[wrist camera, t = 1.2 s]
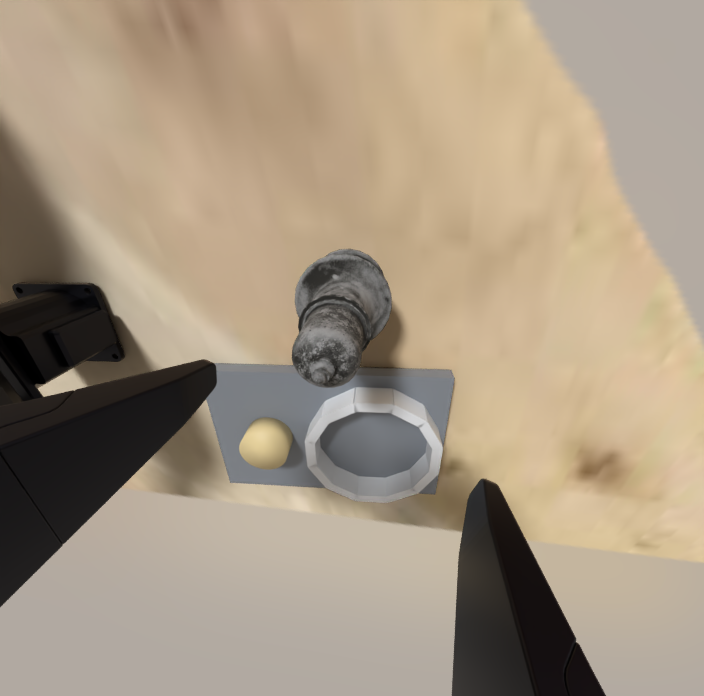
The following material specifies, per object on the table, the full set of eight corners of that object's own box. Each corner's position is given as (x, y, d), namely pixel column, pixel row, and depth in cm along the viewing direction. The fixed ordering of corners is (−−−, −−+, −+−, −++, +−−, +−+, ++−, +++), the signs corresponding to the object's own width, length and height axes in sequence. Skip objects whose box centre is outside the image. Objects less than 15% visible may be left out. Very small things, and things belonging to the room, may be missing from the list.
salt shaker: (373, 335, 23) (369, 460, 12) (298, 311, 23) (228, 419, 12) (402, 260, 20) (429, 337, 10) (318, 231, 20) (250, 279, 9)
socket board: (235, 472, 31) (221, 500, 28) (205, 363, 25) (184, 384, 23) (433, 483, 30) (438, 514, 27) (451, 369, 24) (461, 393, 21)
